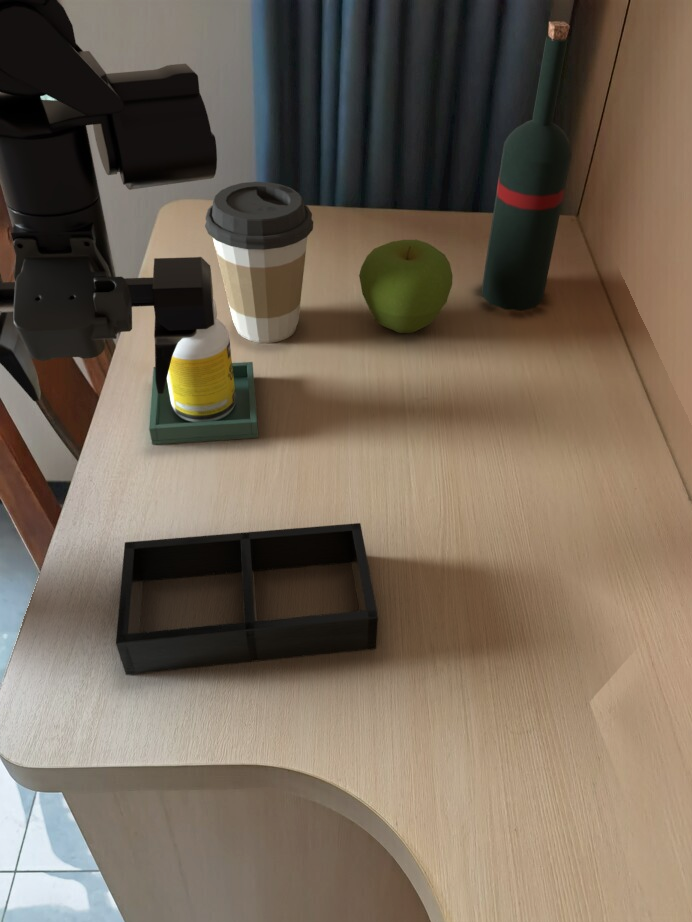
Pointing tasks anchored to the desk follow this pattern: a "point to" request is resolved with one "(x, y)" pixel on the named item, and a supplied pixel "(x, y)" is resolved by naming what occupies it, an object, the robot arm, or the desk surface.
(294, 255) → the coffee cup
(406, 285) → the apple
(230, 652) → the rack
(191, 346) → the pill bottle
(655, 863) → the desk surface
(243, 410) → the tray
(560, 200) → the wine bottle
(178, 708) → the desk surface
